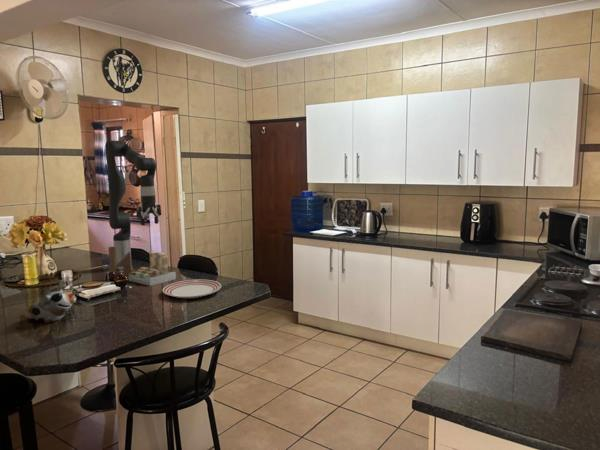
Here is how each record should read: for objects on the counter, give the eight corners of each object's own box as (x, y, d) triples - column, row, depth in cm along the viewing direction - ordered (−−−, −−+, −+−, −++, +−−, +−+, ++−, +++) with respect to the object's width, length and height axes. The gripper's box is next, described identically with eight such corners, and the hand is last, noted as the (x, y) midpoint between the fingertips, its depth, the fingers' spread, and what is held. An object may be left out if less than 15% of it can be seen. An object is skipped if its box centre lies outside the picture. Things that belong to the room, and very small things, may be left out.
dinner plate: (207, 303, 197) (207, 296, 197) (151, 300, 203) (151, 293, 202) (229, 287, 224) (229, 280, 224) (179, 284, 229) (179, 278, 229)
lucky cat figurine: (58, 310, 188) (72, 282, 187) (71, 326, 182) (85, 297, 181) (22, 309, 176) (36, 279, 174) (34, 327, 169) (49, 296, 168)
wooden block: (131, 278, 242) (130, 245, 239) (110, 281, 236) (108, 247, 234) (130, 276, 245) (128, 244, 242) (109, 279, 239) (107, 246, 237)
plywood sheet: (150, 277, 244) (149, 252, 242) (154, 276, 246) (153, 251, 244) (164, 280, 237) (163, 254, 236) (168, 279, 239) (167, 253, 238)
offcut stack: (132, 280, 236) (132, 269, 235) (143, 278, 242) (143, 266, 241) (149, 284, 228) (148, 272, 227) (160, 281, 234) (159, 270, 233)
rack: (128, 280, 237) (128, 273, 236) (154, 274, 250) (154, 267, 250) (150, 285, 226) (149, 278, 226) (175, 279, 240) (175, 271, 239)
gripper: (154, 194, 248) (156, 222, 250) (132, 195, 237) (134, 225, 239) (163, 194, 244) (164, 223, 246) (140, 195, 232) (142, 226, 234)
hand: (149, 224), depth 242 cm, fingers open, 8 cm apart
